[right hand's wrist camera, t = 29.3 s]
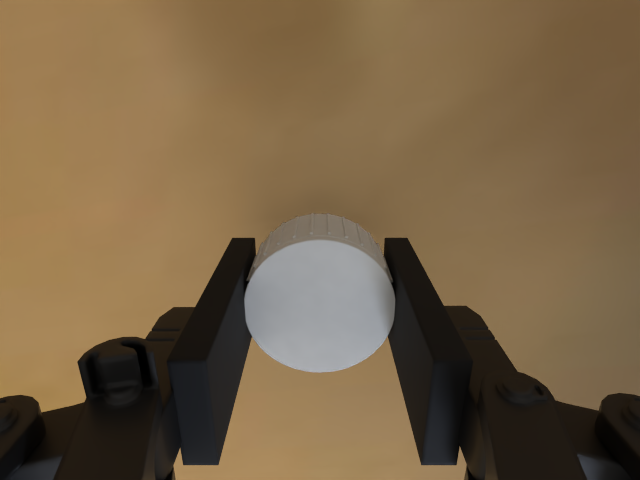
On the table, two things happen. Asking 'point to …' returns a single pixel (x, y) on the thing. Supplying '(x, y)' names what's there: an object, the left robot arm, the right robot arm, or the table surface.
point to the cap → (319, 294)
